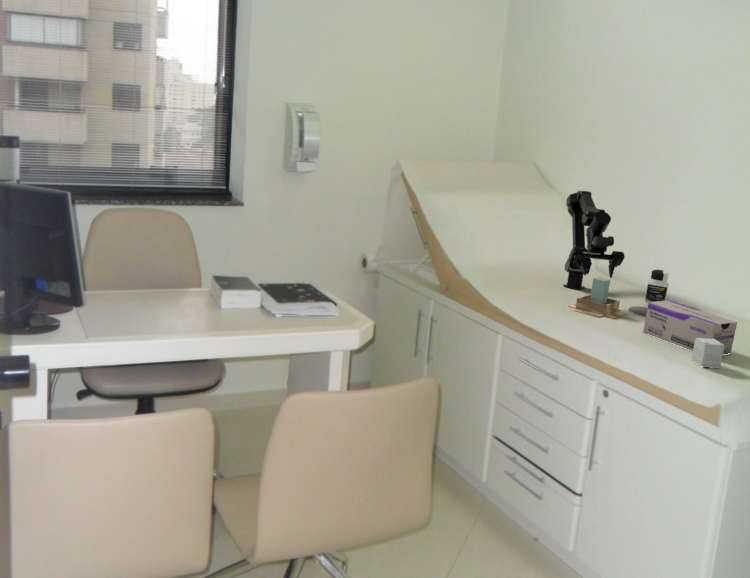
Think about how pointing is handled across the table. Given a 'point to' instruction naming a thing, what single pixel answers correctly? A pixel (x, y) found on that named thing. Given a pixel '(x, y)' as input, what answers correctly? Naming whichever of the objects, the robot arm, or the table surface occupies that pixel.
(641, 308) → the mat
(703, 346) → the skincare box
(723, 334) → the surgical sutures box
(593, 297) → the slim box
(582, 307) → the carton
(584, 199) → the robot arm
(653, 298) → the medicine bottle
